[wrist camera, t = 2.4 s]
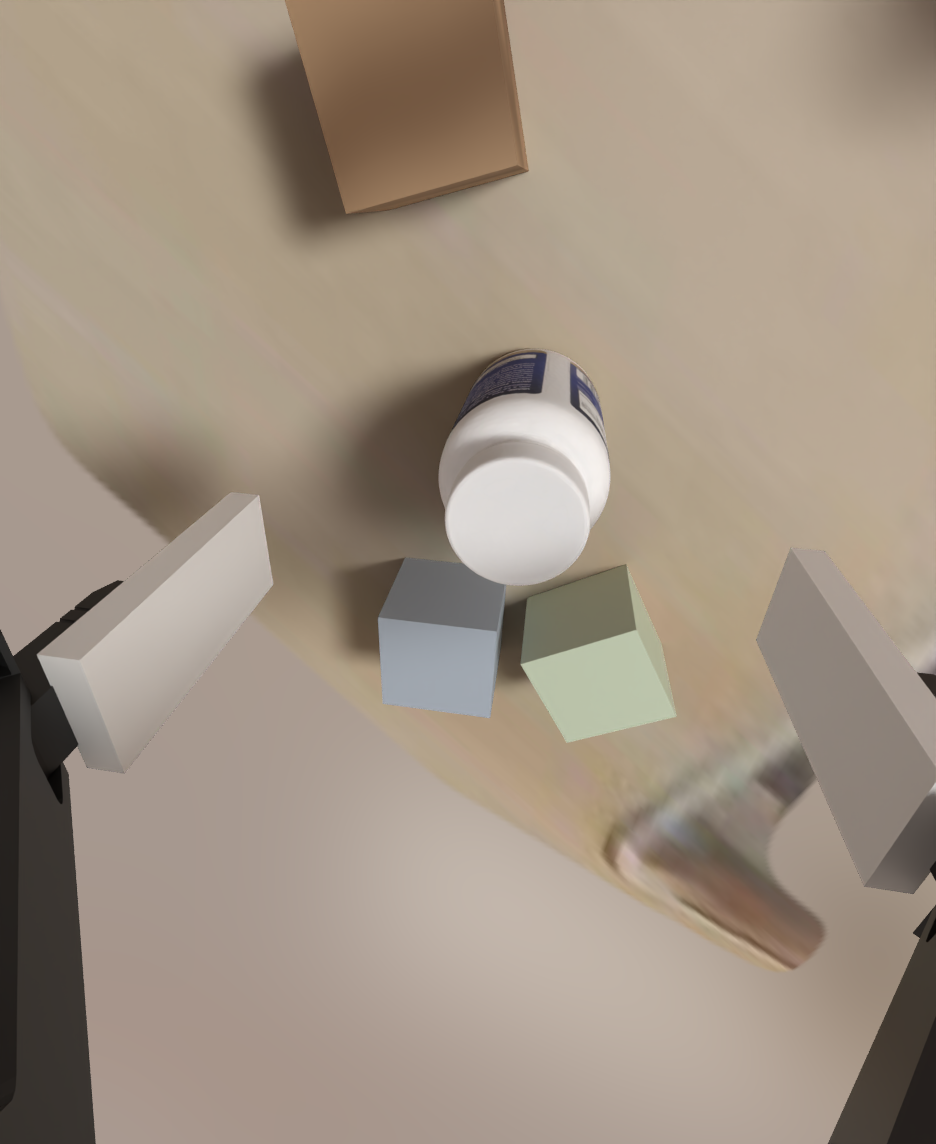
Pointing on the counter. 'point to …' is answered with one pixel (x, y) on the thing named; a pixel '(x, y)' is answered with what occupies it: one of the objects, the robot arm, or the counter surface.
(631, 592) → the sage cube
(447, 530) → the pill bottle
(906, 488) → the counter surface
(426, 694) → the slate blue cube
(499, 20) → the walnut cube
